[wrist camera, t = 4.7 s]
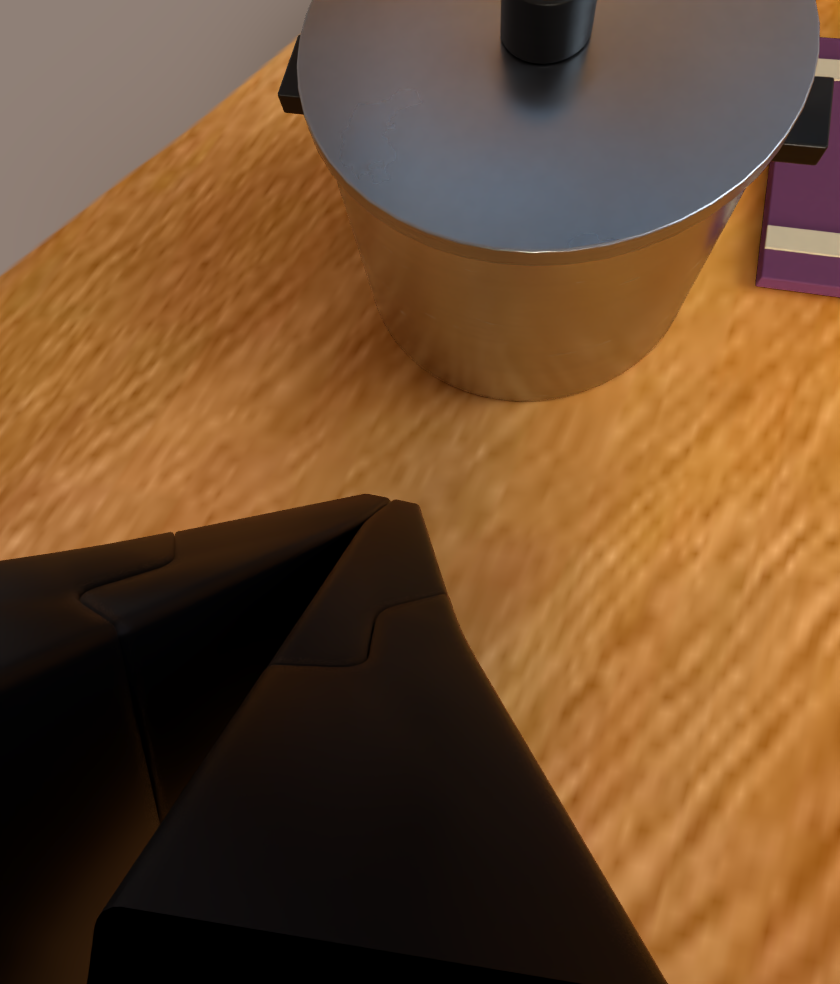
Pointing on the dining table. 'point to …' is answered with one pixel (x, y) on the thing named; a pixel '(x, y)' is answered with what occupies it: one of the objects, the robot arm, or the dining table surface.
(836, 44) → the purple striped coaster
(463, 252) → the steel pot
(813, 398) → the dining table surface
